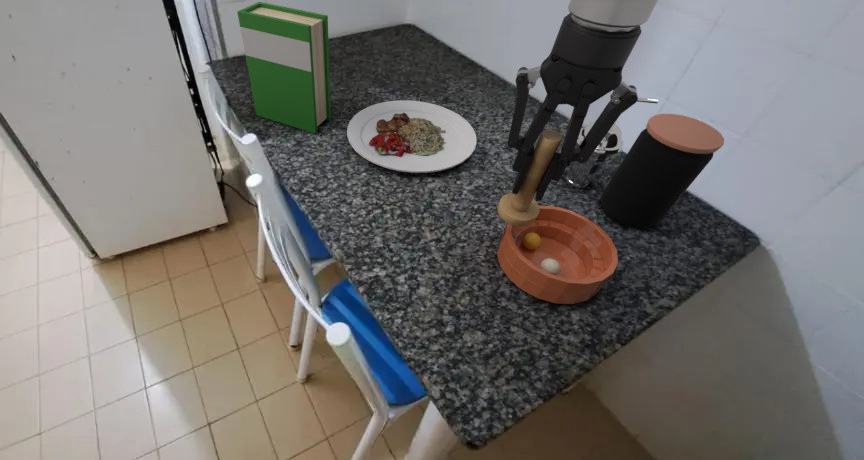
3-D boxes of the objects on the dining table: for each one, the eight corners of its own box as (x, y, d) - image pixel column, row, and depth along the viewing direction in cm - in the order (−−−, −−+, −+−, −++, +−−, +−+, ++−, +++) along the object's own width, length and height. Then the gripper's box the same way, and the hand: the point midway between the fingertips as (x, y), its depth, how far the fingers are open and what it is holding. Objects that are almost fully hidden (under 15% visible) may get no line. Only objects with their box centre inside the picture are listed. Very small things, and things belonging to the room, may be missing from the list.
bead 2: (534, 269, 63) (545, 282, 64) (552, 264, 61) (563, 277, 62) (536, 258, 65) (547, 270, 66) (554, 252, 63) (564, 265, 64)
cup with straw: (573, 164, 86) (619, 76, 72) (609, 187, 81) (667, 97, 66) (546, 176, 83) (588, 86, 69) (582, 201, 78) (635, 109, 63)
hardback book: (331, 119, 98) (327, 15, 81) (315, 133, 93) (308, 26, 76) (273, 102, 104) (259, 1, 86) (256, 115, 99) (237, 11, 82)
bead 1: (534, 255, 67) (544, 246, 65) (517, 248, 68) (527, 238, 65) (535, 243, 69) (545, 233, 67) (519, 236, 70) (529, 226, 67)
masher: (516, 232, 60) (554, 156, 48) (489, 207, 63) (517, 130, 51) (544, 216, 61) (587, 139, 50) (516, 193, 65) (550, 116, 53)
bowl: (601, 320, 59) (621, 298, 55) (490, 286, 63) (500, 263, 59) (597, 244, 70) (614, 220, 65) (502, 219, 74) (512, 195, 69)
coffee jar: (667, 234, 72) (738, 152, 59) (606, 227, 73) (663, 145, 60) (646, 196, 79) (706, 116, 66) (591, 190, 80) (639, 110, 67)
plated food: (488, 125, 97) (492, 112, 95) (452, 195, 78) (456, 182, 76) (378, 97, 106) (379, 85, 104) (323, 153, 88) (323, 141, 85)
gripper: (684, 18, 41) (584, 189, 58) (528, -2, 45) (478, 164, 62) (697, 44, 36) (584, 222, 53) (521, 19, 40) (469, 193, 57)
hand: (527, 191), depth 57 cm, fingers closed on masher, 3 cm apart
